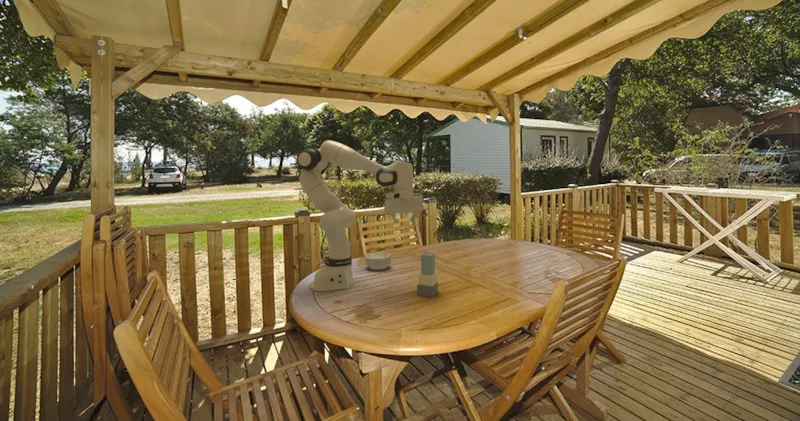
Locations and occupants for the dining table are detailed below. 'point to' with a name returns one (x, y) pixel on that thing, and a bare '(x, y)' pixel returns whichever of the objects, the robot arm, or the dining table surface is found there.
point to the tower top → (428, 279)
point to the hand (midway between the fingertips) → (404, 222)
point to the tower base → (427, 290)
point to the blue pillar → (427, 263)
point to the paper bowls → (378, 260)
